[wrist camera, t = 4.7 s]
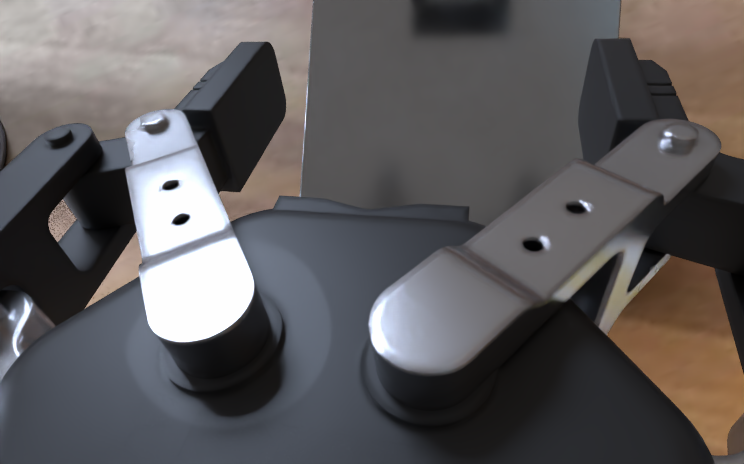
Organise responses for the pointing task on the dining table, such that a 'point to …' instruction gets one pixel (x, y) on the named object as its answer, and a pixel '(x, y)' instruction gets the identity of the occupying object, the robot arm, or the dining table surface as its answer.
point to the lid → (445, 99)
